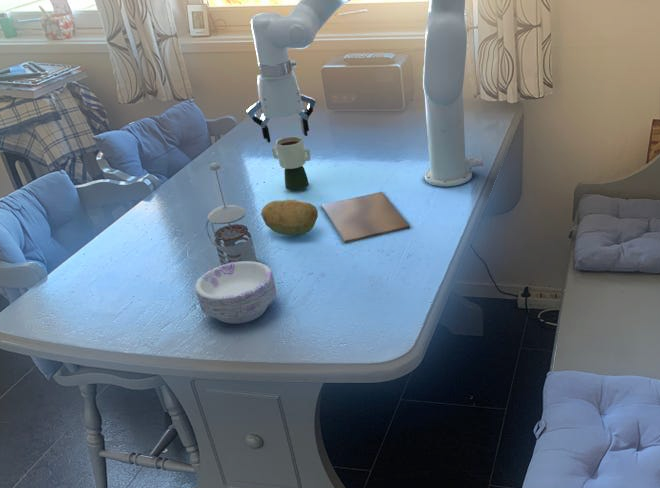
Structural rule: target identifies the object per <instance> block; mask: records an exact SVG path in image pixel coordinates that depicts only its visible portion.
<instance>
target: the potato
mask: <svg viewBox="0 0 660 488" xmlns="http://www.w3.org/2000/svg"><path fill="white" fill-rule="evenodd" d="M260 216H261V217H262V219H263V222H264V224H265V226H266V227H268V228H269V229H270V230H271V231H272V232H274V233H275V234H279V235H283V236H301V235H306V234H307V233H309V232H310V231H311V230H312V229H313V228H314V227H315V225H316V222H317V219H318V217H319V211H318V209H317V207H316V206H315V205H314V204H312V203H311V202H307V201H301V200H297V199H283V200H273V201H270V202H268V203H266V204H265V205H264V207H262V209H261V212H260Z"/></svg>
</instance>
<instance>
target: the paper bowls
mask: <svg viewBox="0 0 660 488" xmlns="http://www.w3.org/2000/svg"><path fill="white" fill-rule="evenodd" d="M194 289H195V293H196V297H197V300H198V303H199V306H200V309H201V311H202V313H203V314H205V315H206V316H208V317H210V318H214V319H217V320H219V321H220V322H222V323H226V324H230V325H236V324H237V325H239V324H245V323H249V322H251V321H254V320H256V319H258V318H259V317H261V316H262V315H263V314H264V313H265V312H266V311H267V308H268V306H270V305H271V304H272V303H273V302H274V301H275V298H276V297H277V288H276V284H275V279H274V274H273V271H272V269H271V268H270V267H269V266H268V265H266V264H264V263H262V262H260V261H257V262H253V261H241V262H233V263H228V264H227V263H226V264H225V265H221V264H220V265H218V266H216V267H213V268H212V269H209V270H208V271H206V272H205V273H203V274H202V275H201V276H200V277H199V278H198V279H197V280H196V283H195V286H194Z"/></svg>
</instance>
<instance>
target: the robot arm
mask: <svg viewBox="0 0 660 488" xmlns="http://www.w3.org/2000/svg"><path fill="white" fill-rule="evenodd" d="M350 2H351V0H300V1H299V2H298V3H297V4H296V5H295V6H294V8H292V10H291V11H290V13H289V14H288V15H287V16H286V15H285V16H282V15H281V14H279V13H276V12H263V13H258V14H255V15H254V16H253V17H252V18H251V20H250V25H251V32H252V36H253V42H254V48H255V53H256V59H257V64H258V69H259V70H258V71H259V74H258V75H257V76H256V77H257V79H256V80H257V81H256V83H257V84H256V85H257V96H258V101H257V102H255V103H254V104H253V105H251V106H250V107H249V108H248V109H246V113H247V115H248V116H249V117H250V119H252V121H253V122H254V123H255V124H257V125H258V126H260V128H261V129H260V130H261V133H262V138H263V140H266V142H267V144H269V143H270V142H272V141H271V136H270V129H269V126H268V125H267V124H268V123H269V121H270V119H278V118H284V117H289V116H295V115H299V116H300V118H299V120H300V126H301V127H300V128H301V132H302V135H303V136H305V137H308V132H309V131H310V127H309V121H308V120H309V118H310V116H311V114H312V113H313V112H314V108H315V106H316V103H317V102H316V100H315V98H313V97H310V96H307V95H304V94H301V92H300V88H299V84H298V80H297V77H296V73H295V72H294V70H293V68H297V62H296V60H291V59H290V56H289V50H288V49H297V50H302V49H306V48H308V47H309V46H311V45H312V44H313V42H314V40H315V38H316V36H317V34H318V32H319V31H320V30H321V28H322V27H323V26H324V25H325V24H326V23H327V22H328V20H329V19H330V18H331V17H332V16H333V15H334V14H335V13H336V11H338V9H340V8H341V7H342V6H344V5H345V4H347V3H350ZM465 11H466V0H428V7H427V18H426V22H425V31H424V32H425V33H424V36H425V37H424V56H423V57H424V59H423V60H424V61H423V68H422V88H423V91H424V92H423V93H424V104H425V107H424V108H425V118H426V119H425V121H426V132H427V146H428V160H429V161H428V162H429V169H427V170H426V172H425V173H424V181H425V182H426V183H427V184H429V185H432V186H435V187H442V188H443V187H444V188H445V187H447V188H449V187H457V186H460V185H463V184H466V183H467V182H469V181H470V180H471V179H472V178H473V168H475V167H476V168H477V167H482V166H484V159H483V158H482V157H481V158H475V157H474V156H472V157H469V158H468V157H466V139H465V113H464V111H465V110H464V95H463V89H464V81H465V80H464V79H465V69H466V58H467V46H468V30H467V24H466V19H465V15H466V14H465ZM303 102H304V103H307V104H308V105H307V107H306V108H305V110H304V109H303V108H304V106H303ZM258 110H260V112H261V117H258V116H257V115H256V114H255V113H256V112H257V111H258Z"/></svg>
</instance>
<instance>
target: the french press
mask: <svg viewBox="0 0 660 488" xmlns="http://www.w3.org/2000/svg"><path fill="white" fill-rule="evenodd" d="M220 168H221V167H220V164H219V163H218V162H212V163H211V164H210V166H209V169H210V170H211V171H215V175H216V179H217V183H218V187H219V192H220V195H221V200H222V203H223V205H220V206H219V207H216V208H214V209H213V210H211V211H210V212H209V213H208V215H207V217H206V218H207V221H206V224H205V229H206V234H207V237H208V238H209V240H210V242H211V243H212V244H213V245H214V247H215V249H216V251H217V255H218V258H219V263H220V266H221V265H225V264H228V263H233V262H241V261H253V262H258V261H257V260H258V259H257V256H256V251H255V247H254V241H253V238H252V234H251V233H250V232H249V228H248V227H247V226H246V225H244V224H240V223H237V222H239V221H241V220H243V218H245V217H246V215H247V210H246V208H244V207H242V206H240V205H235V204H227V205H226V203H225V199H224V195H223V191H222V186H221V183H220V179H219V175H218V170H220ZM209 222H210V223H211V228H212V232H213V234H214V235H213V236H214V237H215V239H214V240H212V238H211V236H210V233H209V229H208V224H209ZM214 225H224V226H221V227H219V228H217V230H215V228H214ZM242 240H243V241H242ZM238 241H241V242H238ZM236 242H238V243H236ZM225 254H226V255H225Z"/></svg>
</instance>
